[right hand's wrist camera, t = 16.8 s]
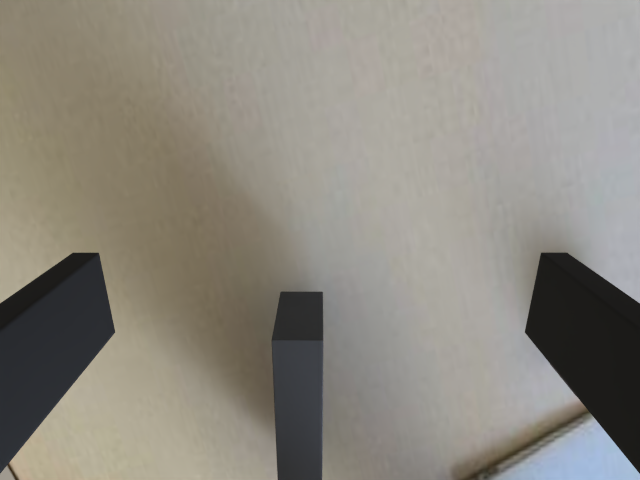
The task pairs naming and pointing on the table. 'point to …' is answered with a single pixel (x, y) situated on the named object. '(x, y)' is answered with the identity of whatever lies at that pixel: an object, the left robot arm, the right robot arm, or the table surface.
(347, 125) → the table surface
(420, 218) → the table surface
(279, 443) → the bar
